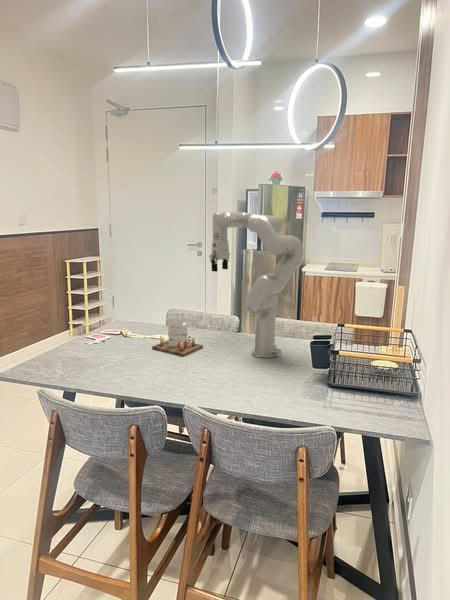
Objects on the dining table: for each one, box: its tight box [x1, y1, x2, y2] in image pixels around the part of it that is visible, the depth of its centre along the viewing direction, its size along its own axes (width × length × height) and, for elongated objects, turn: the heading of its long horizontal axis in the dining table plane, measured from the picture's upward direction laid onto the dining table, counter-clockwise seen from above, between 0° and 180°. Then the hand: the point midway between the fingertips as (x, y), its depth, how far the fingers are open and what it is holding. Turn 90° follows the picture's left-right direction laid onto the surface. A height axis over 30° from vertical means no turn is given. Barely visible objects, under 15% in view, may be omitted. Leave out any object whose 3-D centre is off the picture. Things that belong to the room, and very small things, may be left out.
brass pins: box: [159, 337, 196, 351], centre depth 215 cm, size 15×11×4 cm
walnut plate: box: [151, 339, 204, 358], centre depth 215 cm, size 20×16×2 cm
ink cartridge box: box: [167, 317, 188, 348], centre depth 213 cm, size 9×5×15 cm, turn 70°
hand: (219, 270), depth 221 cm, fingers open, 9 cm apart
